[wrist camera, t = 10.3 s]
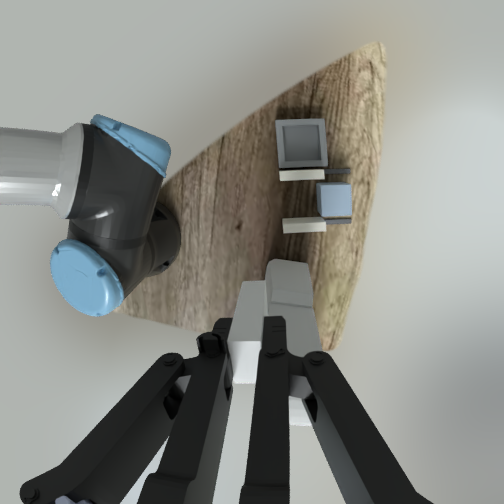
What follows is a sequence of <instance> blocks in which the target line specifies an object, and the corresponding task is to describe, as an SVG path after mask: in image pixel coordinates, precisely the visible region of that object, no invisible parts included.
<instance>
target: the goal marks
mask: <svg viewBox="0 0 504 504" xmlns="http://www.w3.org/2000/svg"><path fill="white" fill-rule="evenodd" d="M323 170H324V174H344V173H350V169H323ZM325 222H326V224H349V223H351V219H331V220H325Z"/></svg>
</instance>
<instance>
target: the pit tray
mask: <svg viewBox="0 0 504 504" xmlns="http://www.w3.org/2000/svg"><path fill="white" fill-rule="evenodd" d="M275 126H276V137H277V149H278V162H279V168H290V167H315V166H328V159H327V145H326V132H325V121H324V119H289V120H275Z"/></svg>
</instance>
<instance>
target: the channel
mask: <svg viewBox="0 0 504 504" xmlns="http://www.w3.org/2000/svg"><path fill="white" fill-rule="evenodd" d="M279 176H280V181H289V180H311V179H324V170H323V169H299V170H279ZM282 222H283V233H298V232H318V231H326V222H325V220H324V219H323V218H322V217H303V218H284V219H282Z"/></svg>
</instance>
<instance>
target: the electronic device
mask: <svg viewBox="0 0 504 504" xmlns="http://www.w3.org/2000/svg"><path fill="white" fill-rule="evenodd" d="M265 280H266V294H267V308H268V316H283V318H284V319H285V320H286V336H287V349H288V351H289V352H290V353H291V354H293V355H295V356H299V357H304V356H305V355H306V354H307V353H309V352H312V351H322V346H321V342H320V337H319V332H318V328H317V323H316V319H315V314H314V310H313V308H312V303H313V289H312V284H311V278H310V273H309V268H308V263H302V262H295V261H288V260H281V259H273V260H271V261H269V263H268V265H267V269H266V275H265ZM289 425H301V426H312V424H311V422H310V420H309V417H308V415H307V412H306V410H305V408H304V405H303V403H302V400H301V398H296V397H291V396H289Z"/></svg>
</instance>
